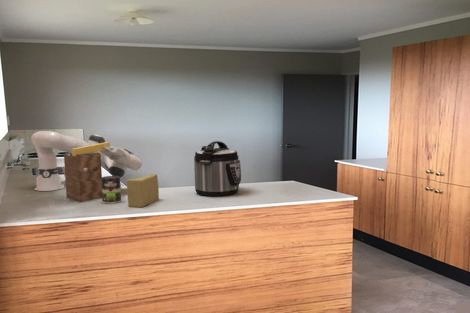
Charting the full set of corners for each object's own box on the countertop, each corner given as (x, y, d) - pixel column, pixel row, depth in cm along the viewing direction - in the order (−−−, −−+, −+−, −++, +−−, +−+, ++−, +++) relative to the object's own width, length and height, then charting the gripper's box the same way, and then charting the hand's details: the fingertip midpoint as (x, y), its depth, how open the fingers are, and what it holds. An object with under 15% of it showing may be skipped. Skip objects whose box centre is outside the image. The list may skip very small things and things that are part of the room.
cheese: (150, 198, 256) (149, 173, 255) (165, 199, 252) (164, 173, 251) (127, 206, 236) (126, 178, 234) (142, 207, 232) (141, 179, 231)
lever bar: (107, 148, 268) (106, 142, 267) (110, 149, 265) (109, 142, 264) (72, 155, 253) (71, 148, 252) (75, 156, 250) (74, 149, 249)
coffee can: (120, 203, 246) (119, 177, 244) (101, 204, 244) (100, 178, 242) (121, 199, 256) (120, 175, 254) (103, 200, 254) (102, 176, 252)
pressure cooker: (207, 199, 250) (206, 143, 246) (185, 192, 273) (183, 141, 270) (251, 193, 266) (250, 141, 263) (225, 187, 289) (224, 139, 286)
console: (88, 194, 273) (86, 151, 270) (103, 198, 259) (101, 152, 257) (66, 198, 263) (63, 153, 260) (81, 202, 250) (78, 154, 247)
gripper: (126, 161, 264) (107, 151, 255) (109, 159, 278) (90, 149, 269) (130, 151, 265) (111, 141, 256) (113, 150, 280) (95, 140, 271)
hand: (101, 145), depth 263 cm, fingers closed on lever bar, 4 cm apart
